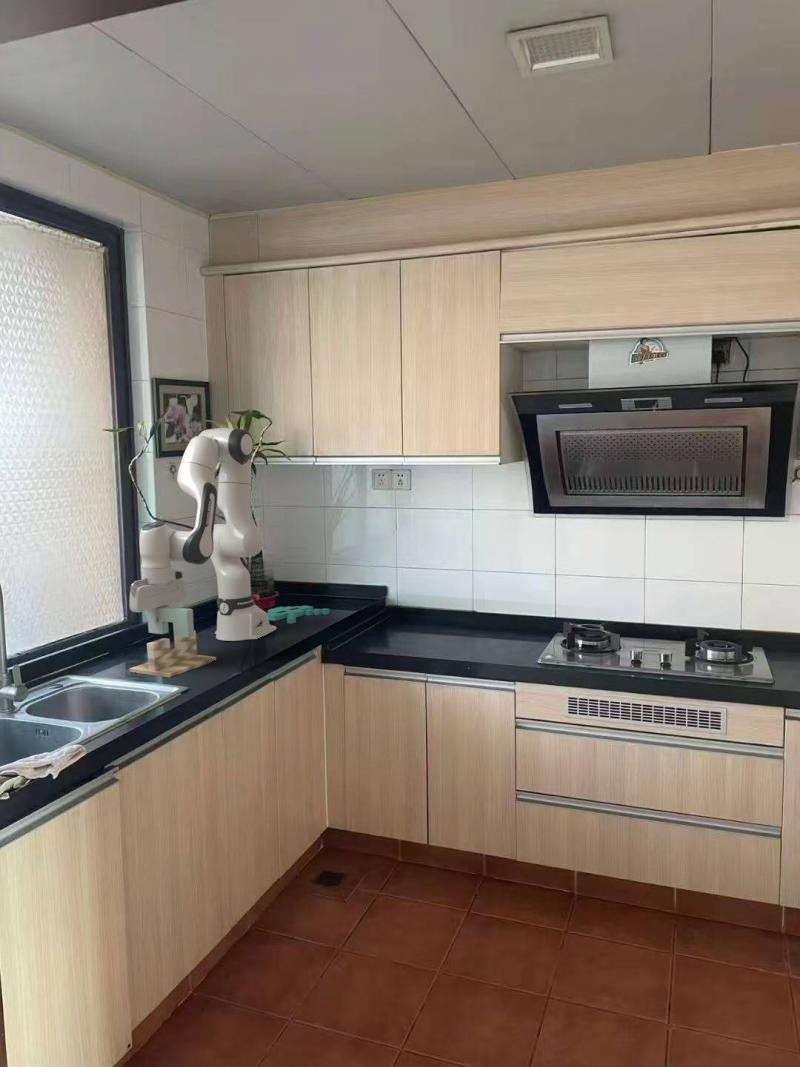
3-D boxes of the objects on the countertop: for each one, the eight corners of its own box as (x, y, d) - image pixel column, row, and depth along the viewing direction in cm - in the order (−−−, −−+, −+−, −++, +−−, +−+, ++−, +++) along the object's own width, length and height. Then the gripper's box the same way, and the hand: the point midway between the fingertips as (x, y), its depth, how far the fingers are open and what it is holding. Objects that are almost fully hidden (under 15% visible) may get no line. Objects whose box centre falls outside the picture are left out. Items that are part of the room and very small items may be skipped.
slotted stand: (177, 655, 268) (175, 627, 267) (216, 660, 261) (214, 631, 260) (129, 671, 251) (127, 642, 250) (169, 677, 243) (167, 647, 242)
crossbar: (194, 635, 252) (192, 609, 251) (188, 637, 250) (186, 610, 249) (154, 630, 259) (153, 605, 258) (148, 632, 257) (147, 606, 256)
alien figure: (329, 614, 324) (293, 609, 336) (329, 608, 323) (293, 603, 336) (291, 624, 308) (255, 618, 321) (291, 618, 308) (254, 613, 321)
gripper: (138, 582, 244) (141, 629, 246) (187, 571, 262) (190, 615, 263) (122, 581, 247) (126, 627, 249) (172, 570, 265) (175, 613, 266)
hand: (159, 621), depth 256 cm, fingers closed on crossbar, 2 cm apart
